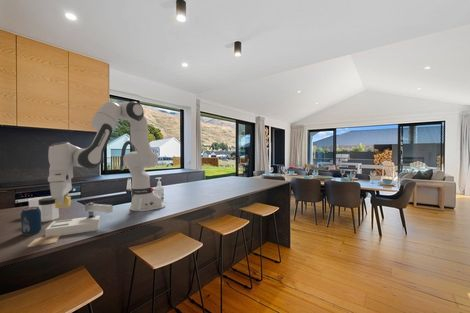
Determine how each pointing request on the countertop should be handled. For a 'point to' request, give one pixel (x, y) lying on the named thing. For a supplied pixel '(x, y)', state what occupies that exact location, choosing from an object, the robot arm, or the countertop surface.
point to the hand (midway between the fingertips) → (63, 203)
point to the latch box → (73, 226)
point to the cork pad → (44, 241)
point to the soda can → (30, 220)
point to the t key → (98, 208)
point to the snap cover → (66, 202)
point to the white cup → (34, 201)
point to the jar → (48, 209)
